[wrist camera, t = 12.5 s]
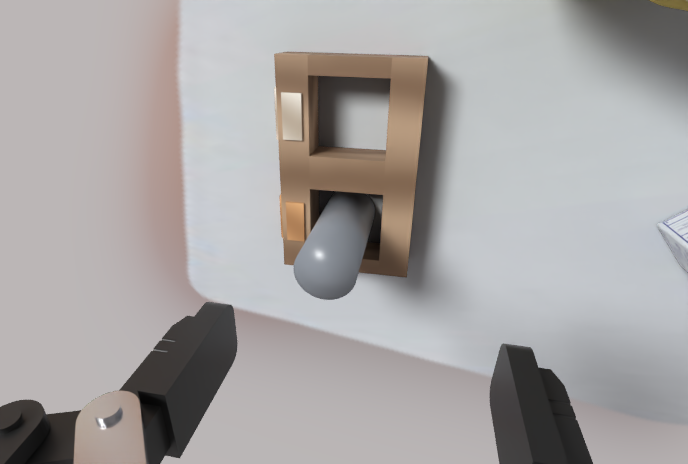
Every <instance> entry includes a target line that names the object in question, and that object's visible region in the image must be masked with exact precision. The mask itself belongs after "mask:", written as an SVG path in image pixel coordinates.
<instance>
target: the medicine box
mask: <svg viewBox="0 0 688 464" xmlns="http://www.w3.org/2000/svg"><path fill="white" fill-rule="evenodd" d="M657 227H658V228H659V230H660V232H661V233H662V235H663V237H664V239H665V240H666V242H667V244H668V245H669V247H670V249H671V250H672V252H673V254H674V255H675V257H676V259H677V260H678V262H679V264H680V265H681V267H682V268H684V269H685V270H686V271H687V272H688V209H687V210H685V211H683V212H681V213H679V214H677V215H675V216H673V217H671V218H669V219H667V220H665V221H663V222H661V223H658V224H657Z"/></svg>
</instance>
